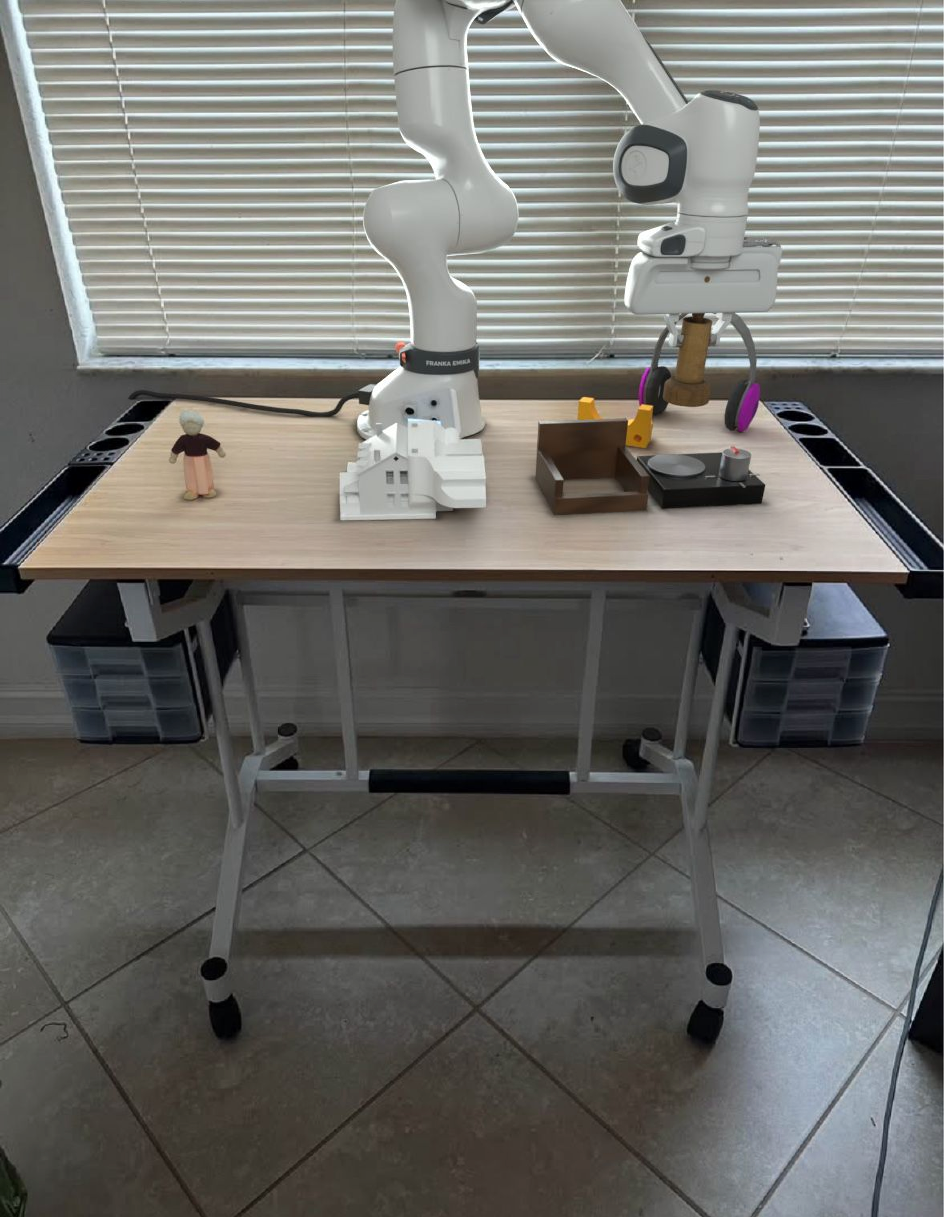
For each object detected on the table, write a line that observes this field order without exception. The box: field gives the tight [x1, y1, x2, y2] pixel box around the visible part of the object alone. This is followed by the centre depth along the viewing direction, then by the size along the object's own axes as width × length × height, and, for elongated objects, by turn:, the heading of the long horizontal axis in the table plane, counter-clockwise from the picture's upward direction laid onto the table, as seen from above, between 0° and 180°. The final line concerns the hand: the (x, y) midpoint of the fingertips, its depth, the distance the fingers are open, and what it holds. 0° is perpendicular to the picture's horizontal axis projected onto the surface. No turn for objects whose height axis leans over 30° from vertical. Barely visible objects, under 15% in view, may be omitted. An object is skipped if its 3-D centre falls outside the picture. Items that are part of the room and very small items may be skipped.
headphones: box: [638, 313, 761, 433], centre depth 147 cm, size 21×9×20 cm, turn 58°
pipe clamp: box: [576, 396, 654, 449], centre depth 143 cm, size 12×4×6 cm, turn 68°
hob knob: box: [719, 445, 752, 481], centre depth 122 cm, size 4×4×4 cm
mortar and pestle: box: [663, 276, 713, 408], centre depth 116 cm, size 7×6×18 cm
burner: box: [648, 453, 705, 478], centre depth 126 cm, size 8×8×1 cm
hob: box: [636, 451, 766, 510], centre depth 125 cm, size 16×14×3 cm
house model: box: [339, 420, 487, 521], centre depth 117 cm, size 19×20×10 cm
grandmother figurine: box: [168, 409, 227, 501], centre depth 120 cm, size 8×4×13 cm, turn 117°
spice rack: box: [535, 417, 650, 516], centre depth 122 cm, size 13×13×9 cm
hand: (693, 346), depth 117 cm, fingers closed on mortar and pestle, 4 cm apart
